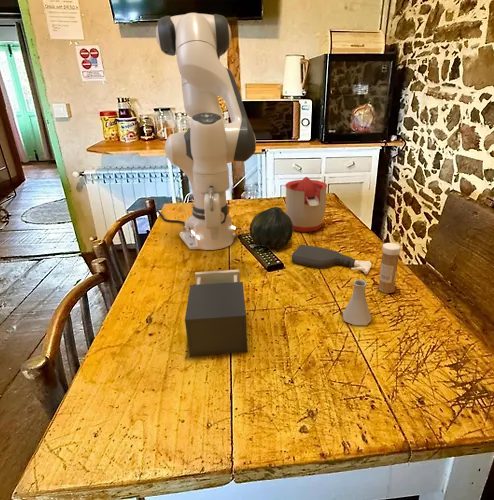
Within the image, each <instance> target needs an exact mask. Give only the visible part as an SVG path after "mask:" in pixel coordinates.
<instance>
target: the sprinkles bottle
mask: <svg viewBox="0 0 494 500" xmlns="http://www.w3.org/2000/svg"><path fill="white" fill-rule="evenodd" d="M381 247H382V249H381V254H382V255H381V261H380V270H379V282H378V287H377V289H378V290H379V292H381V293H384V294H392V293H394V292H395V291H396V281H397V274H398V266H399V264H398V263H399V257H400V254H401V246H400V245H399V244H398V243H394V242H385V243H383V244H382V246H381Z"/></svg>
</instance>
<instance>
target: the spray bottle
mask: <svg viewBox="0 0 494 500" xmlns="http://www.w3.org/2000/svg"><path fill="white" fill-rule="evenodd" d="M291 262H293V263H294V264H297V265H300V266H306V267H310V268H315V269H316V268H317V269H326V268H331V267H333V266H335V265H340V266H345V267H350V270H352V271H362V272H363V274H364V275H367V274H368V273H369V272H370V270H371V268H372V262H371V261H370V260H358V259H355V258H353V257H351V256H349V255H346V254H343V253H341V252H339V251H336V250H333V249H330V248H325V247H320V246H315V245H308V244H300V245H299V246H298V247H297V248H296V249H295V250H294V251H293V252H292V254H291Z"/></svg>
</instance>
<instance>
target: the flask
mask: <svg viewBox="0 0 494 500" xmlns="http://www.w3.org/2000/svg"><path fill="white" fill-rule="evenodd" d="M352 285H353V291H352V294H351V297H350V299H349V301H348V303H347V305H346V307H345V308H344V309H343V312H342V319H343V321H344V322H346V323H348V324H351V325H353V326H368V324H369V323H370V322H372V319H373V318H372V315H371V312H370V309H369V305H368V300H367V297H366V288H367V286H368V283H367V281H366V280H363V279H355V280H354V281H353V283H352Z"/></svg>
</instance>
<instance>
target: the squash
mask: <svg viewBox="0 0 494 500" xmlns="http://www.w3.org/2000/svg"><path fill="white" fill-rule="evenodd" d="M293 232H294V229H293V224H292V221H291V219H290V217H289V216H288V215H287V213H286V212H285V211H284V210H283V209H282V208H281V207H278V206H274V207H270V208H267V209H264V210H262V211H260V212H258V213H256V214H255V215H254V216H253V218H252V220H251V222H250V223H249V234H250V235H249V236H250V237H251V239H252V243H254V245H256V246H258V247H264V248H268V247H270V248H276V249H281V248H284V247H285V246H287V245H288V244H289V243H290V242H291V240H292V238H293V234H294V233H293ZM262 245H263V246H262Z"/></svg>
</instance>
